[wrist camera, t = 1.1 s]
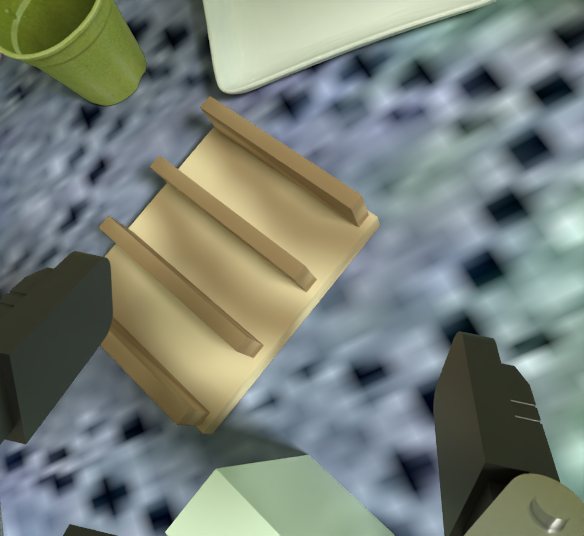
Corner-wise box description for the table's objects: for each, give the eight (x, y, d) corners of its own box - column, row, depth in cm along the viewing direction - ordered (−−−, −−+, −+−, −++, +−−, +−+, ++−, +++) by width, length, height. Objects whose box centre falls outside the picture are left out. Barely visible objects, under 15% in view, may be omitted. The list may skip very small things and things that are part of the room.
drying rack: (231, 125, 40) (206, 90, 36) (379, 225, 35) (371, 197, 31) (83, 302, 39) (40, 287, 35) (212, 433, 34) (180, 433, 30)
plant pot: (181, 86, 43) (120, 5, 35) (82, 145, 44) (1, 81, 36) (145, 9, 46) (82, -80, 38) (54, 66, 47) (-26, -9, 39)
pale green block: (308, 454, 32) (215, 468, 19) (397, 537, 29) (359, 617, 17) (279, 492, 32) (165, 532, 19) (365, 578, 29) (302, 692, 16)
